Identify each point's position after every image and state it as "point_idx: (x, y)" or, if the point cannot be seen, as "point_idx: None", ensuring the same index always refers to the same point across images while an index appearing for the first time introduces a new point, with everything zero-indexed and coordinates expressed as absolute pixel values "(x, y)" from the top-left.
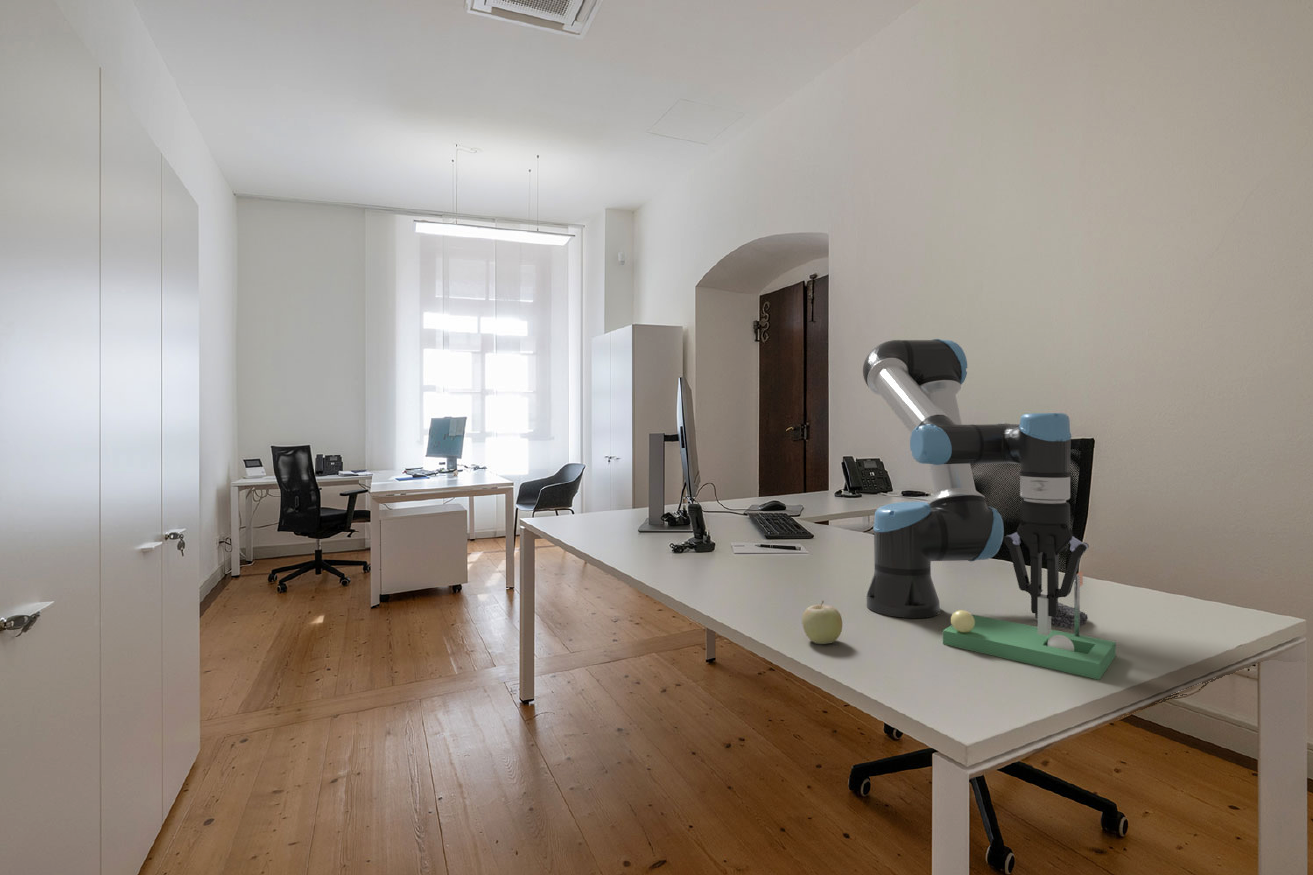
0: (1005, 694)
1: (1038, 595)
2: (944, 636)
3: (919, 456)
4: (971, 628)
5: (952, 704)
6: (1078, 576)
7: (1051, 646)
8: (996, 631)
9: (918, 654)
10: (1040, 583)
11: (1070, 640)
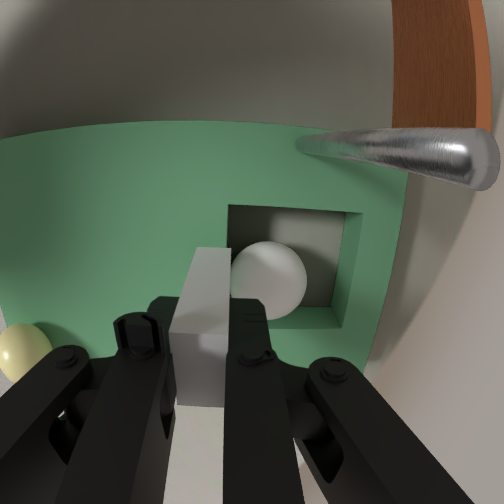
0: (221, 471)
1: (174, 395)
2: None
3: None
4: None
5: (184, 500)
6: (483, 182)
7: None
8: (80, 279)
9: None
10: (159, 422)
11: (300, 287)
